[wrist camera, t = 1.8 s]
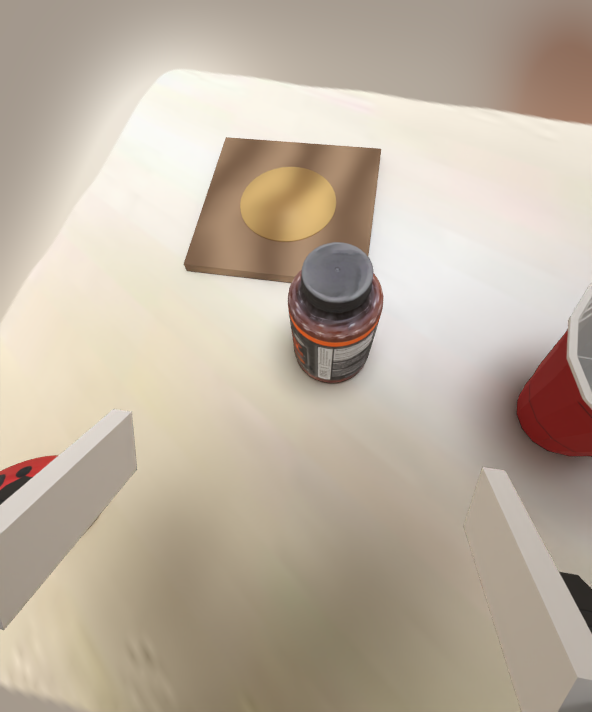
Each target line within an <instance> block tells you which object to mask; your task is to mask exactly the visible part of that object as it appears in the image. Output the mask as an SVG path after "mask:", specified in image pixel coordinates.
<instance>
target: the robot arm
mask: <svg viewBox="0 0 592 712" xmlns="http://www.w3.org/2000/svg"><path fill="white" fill-rule="evenodd" d="M136 470H137V463H136V452H135V440H134V429H133V418H132V412H130V411H124V410H118V409H113V410H112V411H110V412H109V413H108V414H107V415H106V416H104V417H103V418H102V419H101V420H100V421H99V422H97V423H96V424H95V425H94V426H93V427H92V428H90V429H89V430H88V431H87V432H86V433H84V434H83V435H82V436H81V437H80V438H79V439H77V440H76V441H75V442H74V443H73V444H72V445H70V446H69V447H68V448H67V449H66V450H64V451H63V452H62V453H61V454H60V455H59V456H57V457H56V458H55V459H54V460H53V461H51V462H50V463H49V464H48V465H47V466H46V467H44V468H43V469H42V470H41V471H40V472H39V473H37V474H36V475H35V476H34V477H29V476H23V477H21V478H19V479H17V480H15V481H13V482H11V483H9V484H8V485H6V486H4V487H3V488H2V489H1V490H0V629H2V630H5V628H6V627H7V626H8V625H9V624H10V622H11V621H12V620H13V619H14V617H15V616H16V615H17V614H18V613H19V611H20V610H21V609H22V608H23V607H24V605H25V604H26V603H27V602H28V601H29V599H30V598H31V597H32V596H33V595H34V593H35V592H36V591H37V590H38V588H39V587H40V586H41V585H42V584H43V582H44V581H45V580H46V579H47V578H48V576H49V575H50V574H51V573H52V572H53V570H54V569H55V568H56V567H57V566H58V564H59V563H60V562H61V561H62V559H63V558H64V557H65V556H66V555H67V553H68V552H69V551H70V550H71V549H72V547H73V546H74V545H75V544H76V543H77V541H78V540H79V539H80V538H81V537H82V535H83V534H84V533H85V532H86V530H87V529H88V528H89V527H90V526H91V524H92V523H93V522H94V521H95V520H96V518H97V517H98V516H99V515H100V514H101V512H102V511H103V510H104V509H105V508H106V506H107V505H108V504H109V503H110V501H111V500H112V499H113V498H114V497H115V495H116V494H117V493H118V492H119V491H120V489H121V488H122V487H123V486H124V485H125V483H126V482H127V481H128V480H129V479H130V477H131V476H132V475H133V474H134V472H135V471H136ZM464 530H465V533H466V536H467V539H468V542H469V546H470V549H471V552H472V555H473V558H474V562H475V565H476V568H477V571H478V574H479V578H480V581H481V584H482V587H483V590H484V594H485V597H486V600H487V603H488V606H489V610H490V613H491V616H492V619H493V622H494V626H495V629H496V632H497V635H498V638H499V642H500V645H501V648H502V651H503V654H504V658H505V661H506V664H507V667H508V670H509V674H510V677H511V680H512V683H513V686H514V690H515V693H516V696H517V699H518V702H519V706H520V709H521V712H592V589H591V588H590V587H589V586H588V585H587V584H586V583H585V582H584V581H583V580H582V579H581V578H580V577H579V576H578V575H574V574H568V573H563V572H559V571H558V569H557V567H556V565H555V563H554V562H553V560H552V558H551V556H550V554H549V552H548V550H547V548H546V546H545V545H544V543H543V541H542V539H541V537H540V535H539V533H538V531H537V529H536V528H535V526H534V524H533V522H532V520H531V518H530V516H529V514H528V512H527V511H526V509H525V507H524V505H523V503H522V501H521V499H520V497H519V495H518V494H517V492H516V490H515V488H514V486H513V484H512V482H511V480H510V479H509V477H508V475H507V473H506V471H505V470H499V469H493V468H487V467H482V470H481V473H480V476H479V479H478V482H477V486H476V489H475V492H474V495H473V498H472V501H471V504H470V507H469V510H468V514H467V517H466V520H465V523H464Z"/></svg>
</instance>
